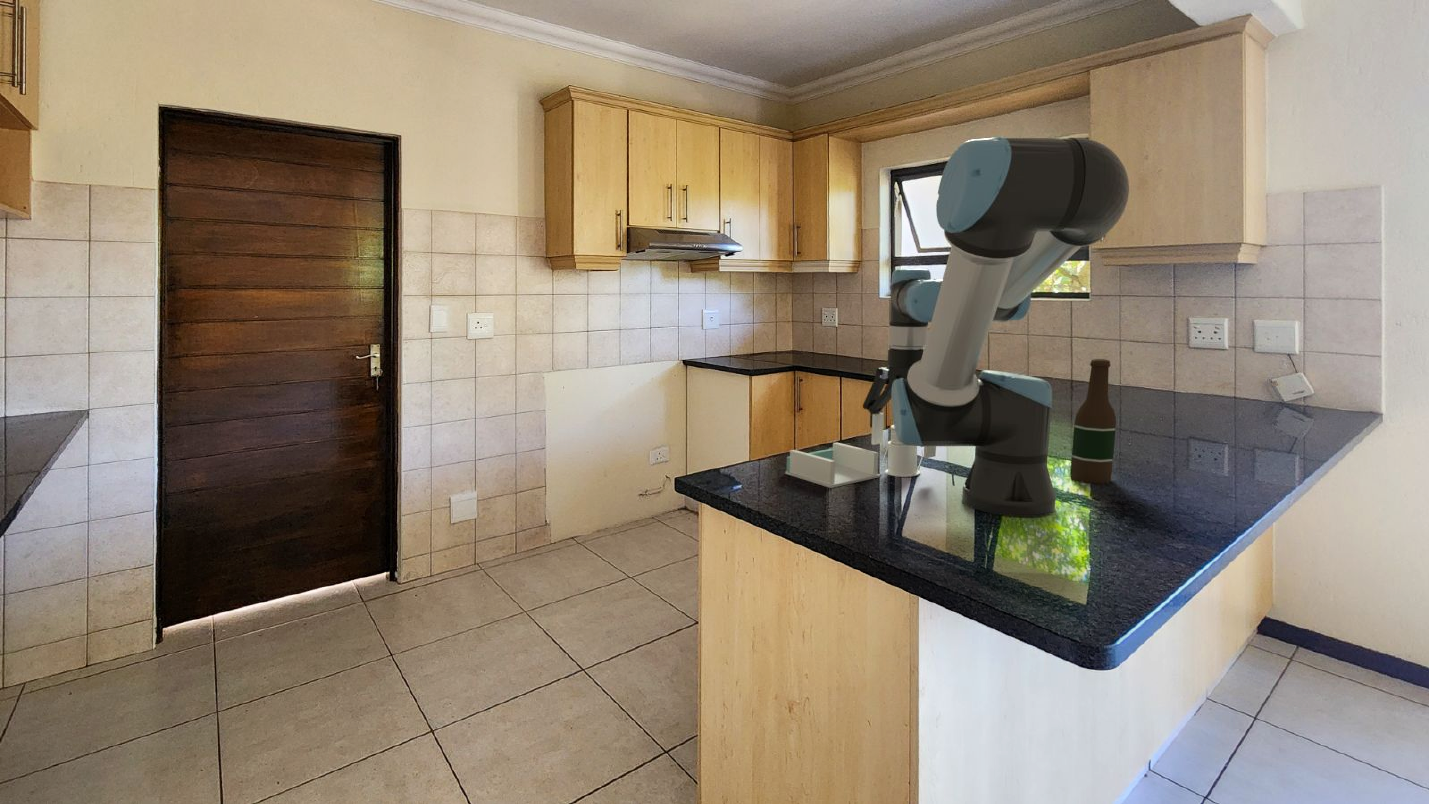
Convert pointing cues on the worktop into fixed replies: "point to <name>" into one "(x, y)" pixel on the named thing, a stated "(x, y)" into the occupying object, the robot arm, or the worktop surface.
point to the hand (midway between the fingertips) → (902, 450)
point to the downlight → (901, 458)
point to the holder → (834, 465)
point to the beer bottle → (1094, 430)
